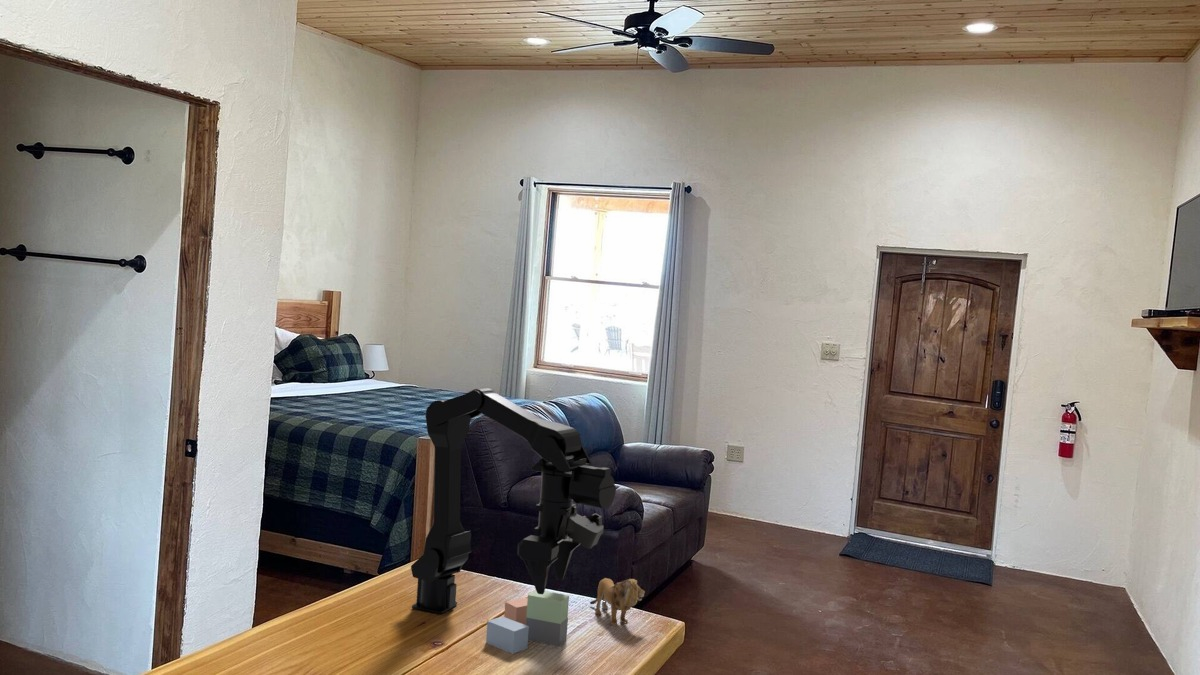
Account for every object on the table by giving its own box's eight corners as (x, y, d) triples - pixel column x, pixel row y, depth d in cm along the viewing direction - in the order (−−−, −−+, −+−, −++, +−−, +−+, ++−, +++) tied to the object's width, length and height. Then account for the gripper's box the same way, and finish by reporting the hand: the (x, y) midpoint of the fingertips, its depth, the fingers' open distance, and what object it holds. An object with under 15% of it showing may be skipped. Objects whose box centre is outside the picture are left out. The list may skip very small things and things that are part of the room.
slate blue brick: (485, 643, 161) (487, 621, 160) (500, 638, 163) (502, 616, 163) (512, 654, 157) (514, 631, 156) (527, 649, 159) (528, 626, 159)
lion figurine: (646, 628, 173) (649, 580, 173) (623, 632, 170) (626, 584, 170) (600, 604, 185) (603, 559, 185) (578, 607, 182) (581, 562, 182)
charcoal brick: (525, 639, 163) (526, 617, 163) (533, 633, 167) (534, 611, 167) (559, 646, 161) (560, 623, 161) (566, 639, 165) (568, 617, 165)
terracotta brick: (515, 629, 169) (516, 607, 168) (503, 623, 171) (505, 601, 171) (543, 622, 173) (544, 601, 173) (531, 617, 176) (532, 596, 175)
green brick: (526, 617, 163) (527, 595, 163) (534, 611, 167) (535, 589, 167) (560, 623, 161) (561, 601, 161) (567, 617, 165) (569, 595, 165)
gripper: (581, 515, 152) (575, 610, 152) (616, 495, 169) (610, 580, 170) (518, 506, 155) (512, 598, 156) (559, 487, 173) (553, 570, 173)
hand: (550, 586), depth 164 cm, fingers open, 9 cm apart
